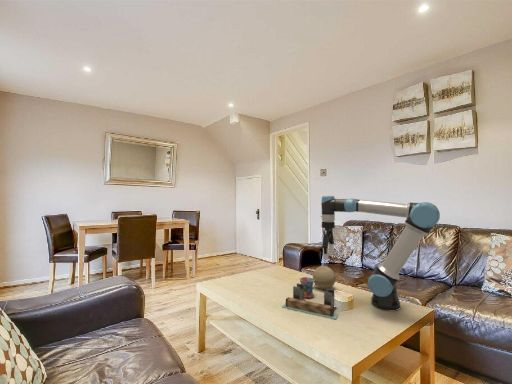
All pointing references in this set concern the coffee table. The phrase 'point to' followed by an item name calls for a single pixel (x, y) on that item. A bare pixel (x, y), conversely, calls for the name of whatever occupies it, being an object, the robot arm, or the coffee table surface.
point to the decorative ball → (324, 277)
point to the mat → (312, 312)
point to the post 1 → (298, 292)
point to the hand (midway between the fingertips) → (328, 257)
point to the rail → (310, 306)
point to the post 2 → (329, 298)
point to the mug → (308, 286)
